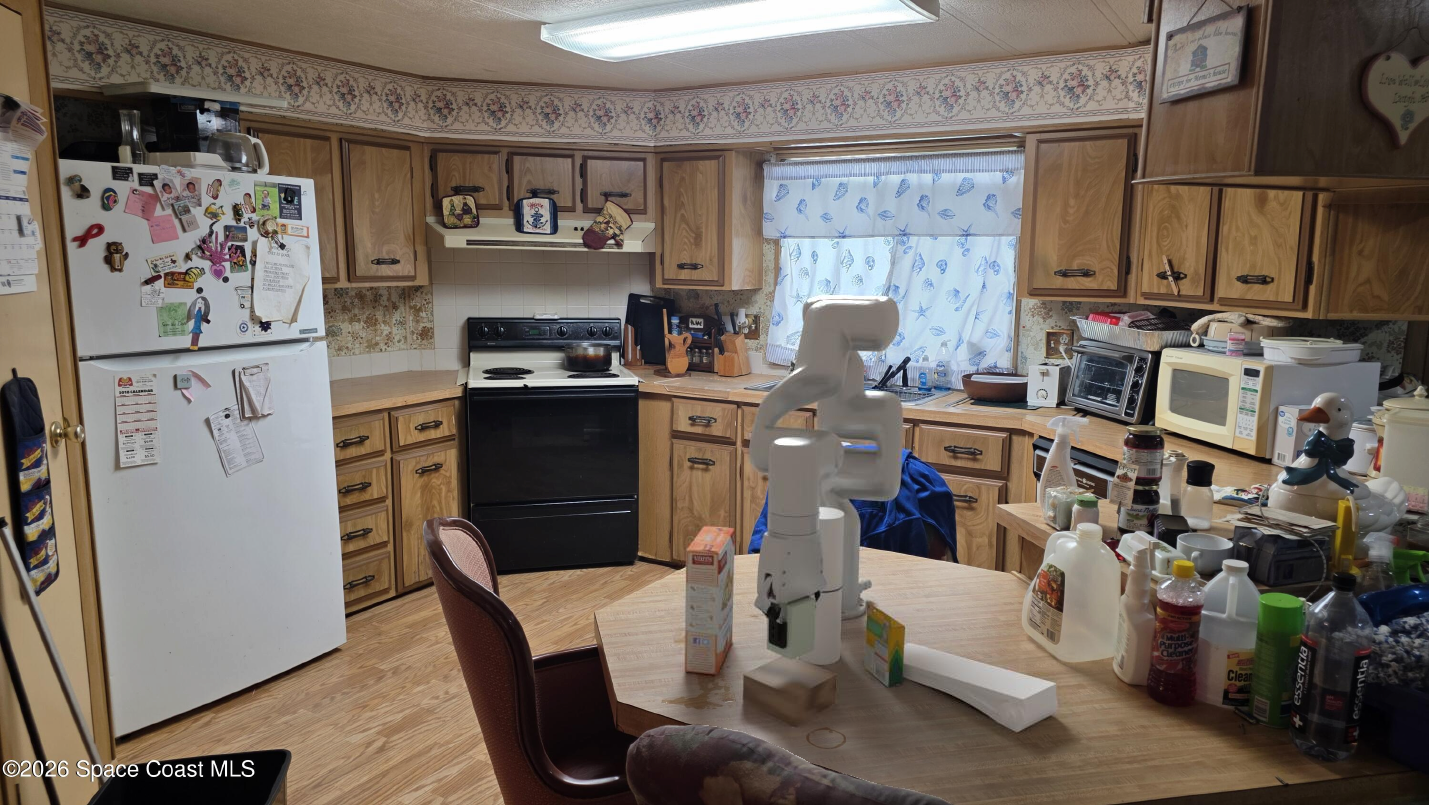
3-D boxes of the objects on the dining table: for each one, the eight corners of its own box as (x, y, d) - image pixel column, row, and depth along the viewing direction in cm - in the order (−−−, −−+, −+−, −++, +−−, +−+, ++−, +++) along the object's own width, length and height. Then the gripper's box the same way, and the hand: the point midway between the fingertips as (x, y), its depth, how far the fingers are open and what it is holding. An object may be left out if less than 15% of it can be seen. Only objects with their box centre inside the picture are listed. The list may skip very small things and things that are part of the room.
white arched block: (879, 698, 149) (1026, 750, 127) (869, 659, 148) (1016, 705, 126) (917, 668, 155) (1064, 713, 133) (907, 630, 154) (1055, 669, 131)
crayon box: (903, 684, 142) (906, 615, 140) (887, 687, 141) (890, 617, 139) (879, 665, 149) (882, 598, 147) (863, 668, 148) (866, 601, 146)
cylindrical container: (812, 668, 147) (816, 521, 143) (789, 651, 154) (792, 510, 150) (848, 659, 151) (852, 515, 147) (824, 643, 157) (828, 505, 153)
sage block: (789, 640, 138) (790, 590, 136) (814, 650, 134) (815, 599, 133) (766, 649, 134) (767, 598, 133) (791, 660, 131) (792, 607, 129)
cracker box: (719, 677, 144) (720, 552, 141) (683, 673, 145) (683, 549, 142) (735, 641, 158) (736, 526, 154) (701, 638, 159) (702, 524, 156)
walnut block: (785, 683, 143) (785, 654, 142) (836, 705, 136) (837, 674, 135) (742, 705, 136) (743, 674, 135) (794, 729, 129) (795, 696, 128)
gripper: (812, 507, 140) (809, 618, 142) (733, 527, 128) (732, 648, 131) (850, 517, 134) (846, 632, 137) (771, 539, 123) (769, 665, 125)
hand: (790, 639), depth 134 cm, fingers closed on sage block, 4 cm apart
